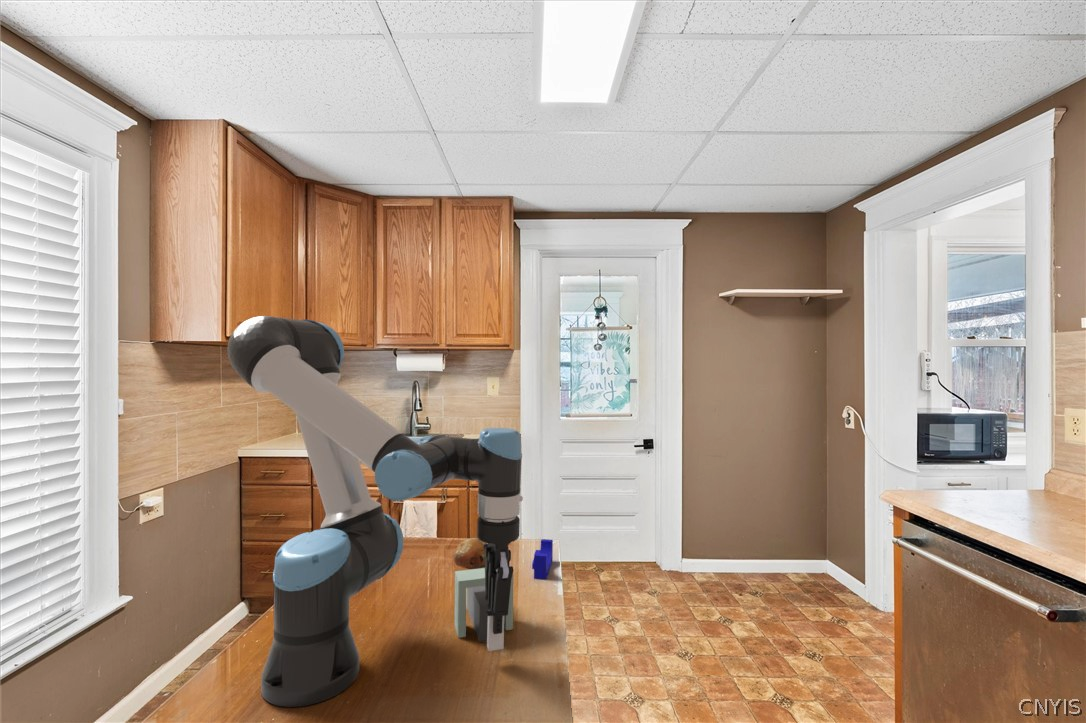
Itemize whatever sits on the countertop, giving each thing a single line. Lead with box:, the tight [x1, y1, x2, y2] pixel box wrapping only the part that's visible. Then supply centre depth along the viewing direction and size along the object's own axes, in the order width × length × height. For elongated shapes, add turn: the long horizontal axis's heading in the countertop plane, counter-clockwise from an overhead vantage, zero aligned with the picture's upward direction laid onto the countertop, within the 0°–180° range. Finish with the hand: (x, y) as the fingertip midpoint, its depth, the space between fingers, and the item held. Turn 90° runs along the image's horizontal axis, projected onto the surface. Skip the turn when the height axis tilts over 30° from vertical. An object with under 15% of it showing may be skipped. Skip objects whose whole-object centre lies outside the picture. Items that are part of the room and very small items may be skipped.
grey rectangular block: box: [466, 586, 490, 643], centre depth 107 cm, size 4×16×7 cm, turn 18°
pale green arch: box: [453, 567, 514, 639], centre depth 104 cm, size 11×5×11 cm, turn 108°
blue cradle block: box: [531, 538, 554, 581], centre depth 134 cm, size 12×4×6 cm, turn 171°
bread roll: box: [453, 537, 488, 570], centre depth 139 cm, size 10×10×8 cm
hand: (495, 647), depth 92 cm, fingers closed
